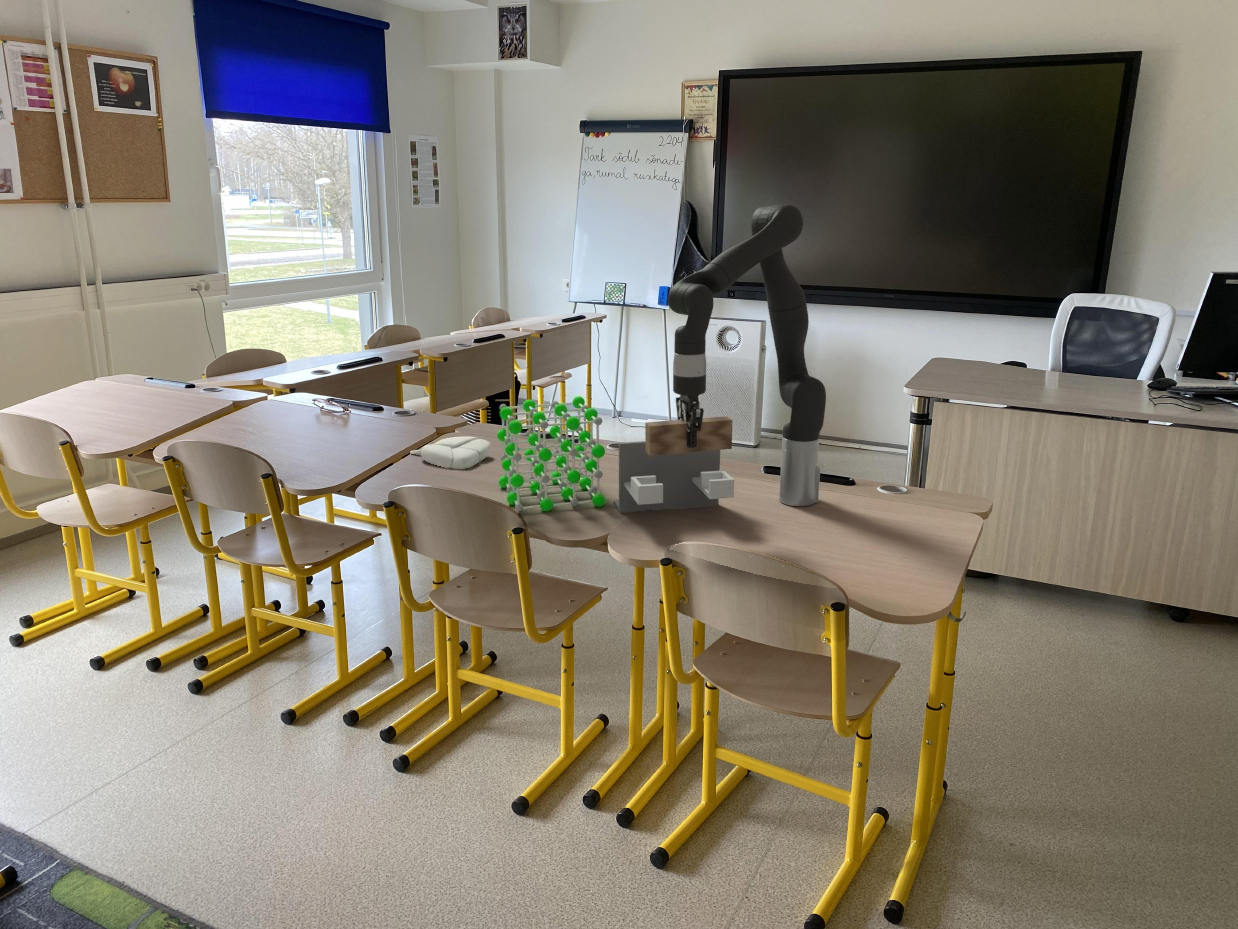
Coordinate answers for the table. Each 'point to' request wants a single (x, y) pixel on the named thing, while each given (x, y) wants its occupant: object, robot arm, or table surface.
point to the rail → (674, 436)
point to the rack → (669, 479)
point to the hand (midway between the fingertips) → (688, 444)
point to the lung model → (455, 452)
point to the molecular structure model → (546, 454)
